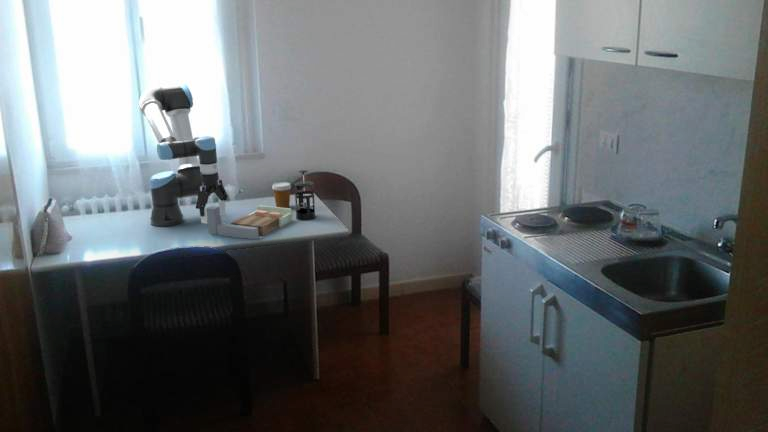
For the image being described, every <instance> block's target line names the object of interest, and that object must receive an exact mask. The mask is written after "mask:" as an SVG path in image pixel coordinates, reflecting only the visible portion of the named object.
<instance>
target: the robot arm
mask: <svg viewBox="0 0 768 432" xmlns="http://www.w3.org/2000/svg"><path fill="white" fill-rule="evenodd" d="M193 101H194V98H193V95H192V93H191V90H190V88H189V87H188V86H187V85H186V84H183V83H175V84H163V85H153V86H150V87H148V88H146V90H144V91H143V93H142V94H141V96H140V99H139V108H140V112H141V114H142V115H143V116H144V117H146V119H147V122H148V124H149V125H150V127H151V129H152V132H153V134H154V136H155V138H156V140H157V142H158V143H157V145H156V153H157V156H158V158H159V160H161V161H166V160H169V161H170V160H175V159H176V160H178V165H179V167H178V169H177V170H176V171H177V173H175V171H173V170H168V171H162V172H159V173H155V174H153V175H152V176H151V177H150V179H149V188H150V195H151V202H152V210H151V216H150V224H151V225H153V226H156V227H170V226H175V225H178V224H179V225H180V224H181V223H183V222H184V221H185V217H184V214H183V213H182V209H181V208H180V205H179V199H185V198H190V197H191V198H192V197H197V199H196V204H195V209H198V210H199V216H200V221H201V224H208V220H207V210H206V206H207V203H208V200H209V197H210V196H211V195H212V194H215V196H216V197H217V198H218V207H219V210H220V216H221V215H222V216H225V215H226V201H227V200H228V198H229V196H228V194H227V191H226V188H225V187H224V185H223V180H222V179H219V178H220V177H219V172H218V171H219V170H218V169H219V168H218V156H217V155H218V154H217V143H216V139H215V137H213V136H208V135H207V136H201V137H199V136H196V137H193V133H192V126H191V122H190V117H189V114H190V113H191V111H192V110H191V108H193V106H194V102H193ZM164 111H165V113H164ZM165 115H166V116H167V117H169V119H170V124H171V126H170V124H169V122H168V120H167V118H166V116H165ZM197 157H198V158H197ZM198 160H199V162H198Z"/></svg>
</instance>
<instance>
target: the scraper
mask: <svg viewBox="0 0 768 432" xmlns="http://www.w3.org/2000/svg"><path fill="white" fill-rule="evenodd" d="M205 209H206V213H207V228H208V234H209V235H215V236H216V235H219V236H225V235H226V236H227V237H233V238H242V239H249V240H257V239H259V237H260V235H259V234H258V227H249V226H241V225H233V224H231V223H224V222H222V220H221V214H220V210H219V205H218V206H217V205H210V206H208V207H205Z"/></svg>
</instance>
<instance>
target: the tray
mask: <svg viewBox="0 0 768 432" xmlns="http://www.w3.org/2000/svg"><path fill="white" fill-rule="evenodd" d="M258 210H263V211H268V217H269V213H271V212H278V213H282V217H281V218H279V227H278V228H282V227H284V226H287V225H289V223H291V222H293V209H292V208H290V207H289V208H281V207H276V206H269V205H260V204H259V205H257V210H255V211H253V212H251V213H249V214H248V215H252V216H256V215H255V212H256V211H258Z"/></svg>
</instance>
